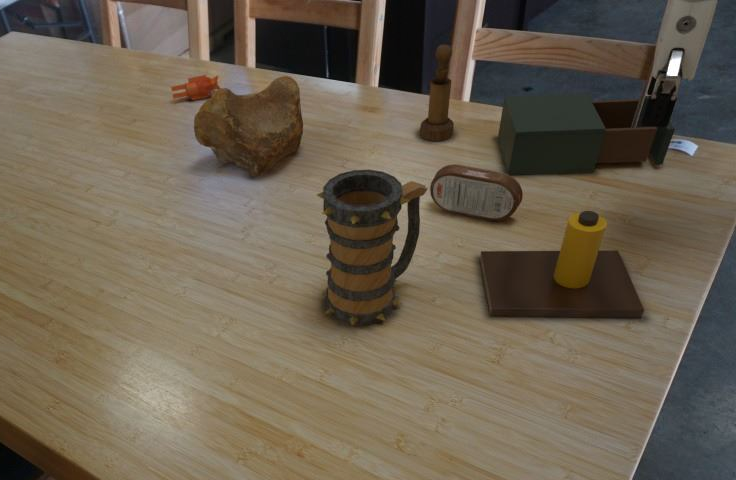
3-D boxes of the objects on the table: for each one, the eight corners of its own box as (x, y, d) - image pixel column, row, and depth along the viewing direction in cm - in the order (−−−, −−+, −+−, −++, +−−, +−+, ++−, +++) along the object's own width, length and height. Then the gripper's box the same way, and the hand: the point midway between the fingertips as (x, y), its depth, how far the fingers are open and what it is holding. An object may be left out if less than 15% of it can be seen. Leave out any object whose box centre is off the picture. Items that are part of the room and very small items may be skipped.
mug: (302, 296, 106) (296, 185, 93) (391, 258, 111) (398, 146, 97) (348, 342, 97) (349, 227, 84) (443, 299, 102) (459, 183, 88)
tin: (518, 218, 114) (527, 174, 109) (513, 227, 113) (522, 183, 107) (432, 201, 121) (436, 158, 116) (426, 210, 120) (429, 167, 114)
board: (615, 258, 104) (618, 250, 103) (641, 318, 94) (644, 309, 93) (479, 258, 108) (480, 251, 107) (490, 316, 98) (491, 308, 97)
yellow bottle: (585, 268, 101) (604, 205, 93) (592, 288, 97) (612, 225, 90) (550, 268, 102) (566, 206, 94) (556, 288, 98) (574, 225, 91)
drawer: (648, 129, 128) (659, 94, 124) (670, 164, 119) (683, 128, 114) (565, 132, 131) (573, 99, 127) (580, 167, 122) (589, 132, 117)
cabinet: (576, 135, 132) (586, 92, 126) (593, 172, 121) (605, 128, 116) (497, 138, 135) (504, 96, 129) (507, 175, 124) (515, 131, 119)
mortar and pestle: (431, 124, 142) (439, 36, 130) (458, 131, 139) (469, 42, 126) (413, 136, 139) (419, 48, 127) (440, 144, 136) (450, 54, 123)
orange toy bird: (170, 82, 162) (219, 72, 162) (168, 81, 168) (215, 72, 169) (175, 104, 164) (222, 94, 164) (172, 102, 170) (218, 92, 171)
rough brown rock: (222, 199, 132) (218, 130, 121) (191, 158, 143) (184, 92, 132) (326, 167, 138) (330, 98, 127) (289, 131, 148) (290, 64, 137)
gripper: (734, 2, 76) (684, 141, 88) (734, -43, 87) (690, 86, 99) (658, 1, 80) (620, 135, 91) (668, -43, 90) (632, 82, 102)
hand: (656, 109), depth 95 cm, fingers open, 9 cm apart
